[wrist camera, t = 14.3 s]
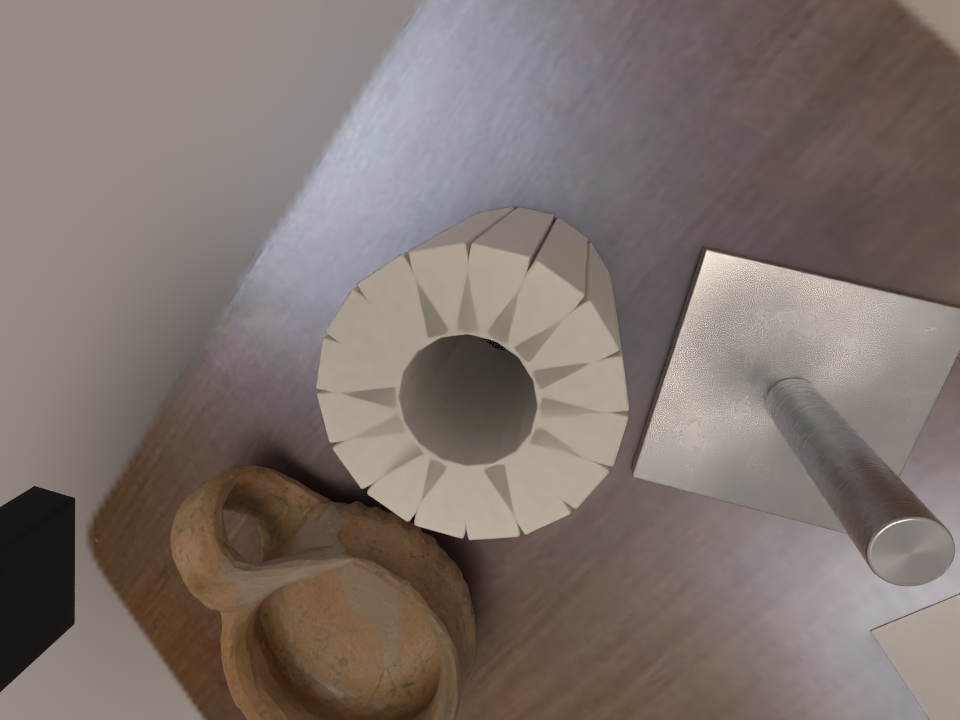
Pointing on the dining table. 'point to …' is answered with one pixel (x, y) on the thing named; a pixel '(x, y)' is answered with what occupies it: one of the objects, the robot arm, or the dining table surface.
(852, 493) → the towel stand
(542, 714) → the dining table surface
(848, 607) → the dining table surface
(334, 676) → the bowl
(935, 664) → the milk
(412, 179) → the dining table surface
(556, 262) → the paper towel roll
